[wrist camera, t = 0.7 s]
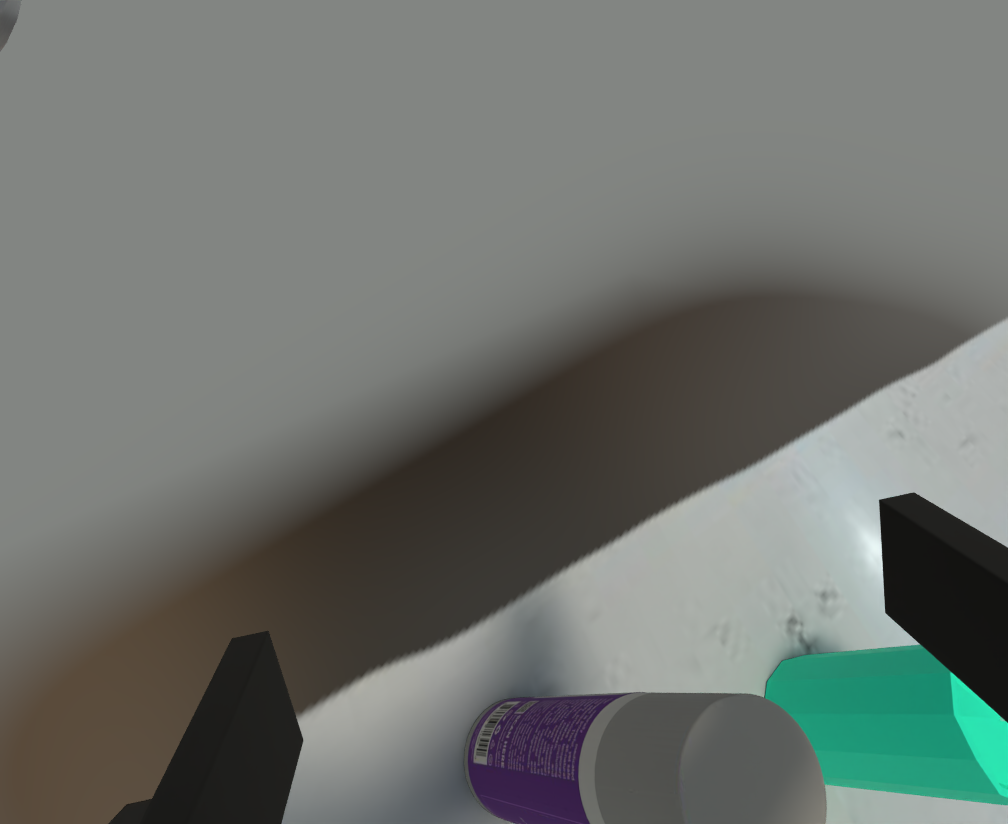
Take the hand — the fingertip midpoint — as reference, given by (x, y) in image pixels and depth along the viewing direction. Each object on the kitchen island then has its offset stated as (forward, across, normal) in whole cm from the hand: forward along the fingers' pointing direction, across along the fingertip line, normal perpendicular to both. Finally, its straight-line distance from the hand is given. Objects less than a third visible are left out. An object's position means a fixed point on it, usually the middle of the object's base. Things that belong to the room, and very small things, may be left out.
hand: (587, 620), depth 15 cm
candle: (+17, +12, -19) cm, 28 cm away
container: (+12, -3, -14) cm, 19 cm away
